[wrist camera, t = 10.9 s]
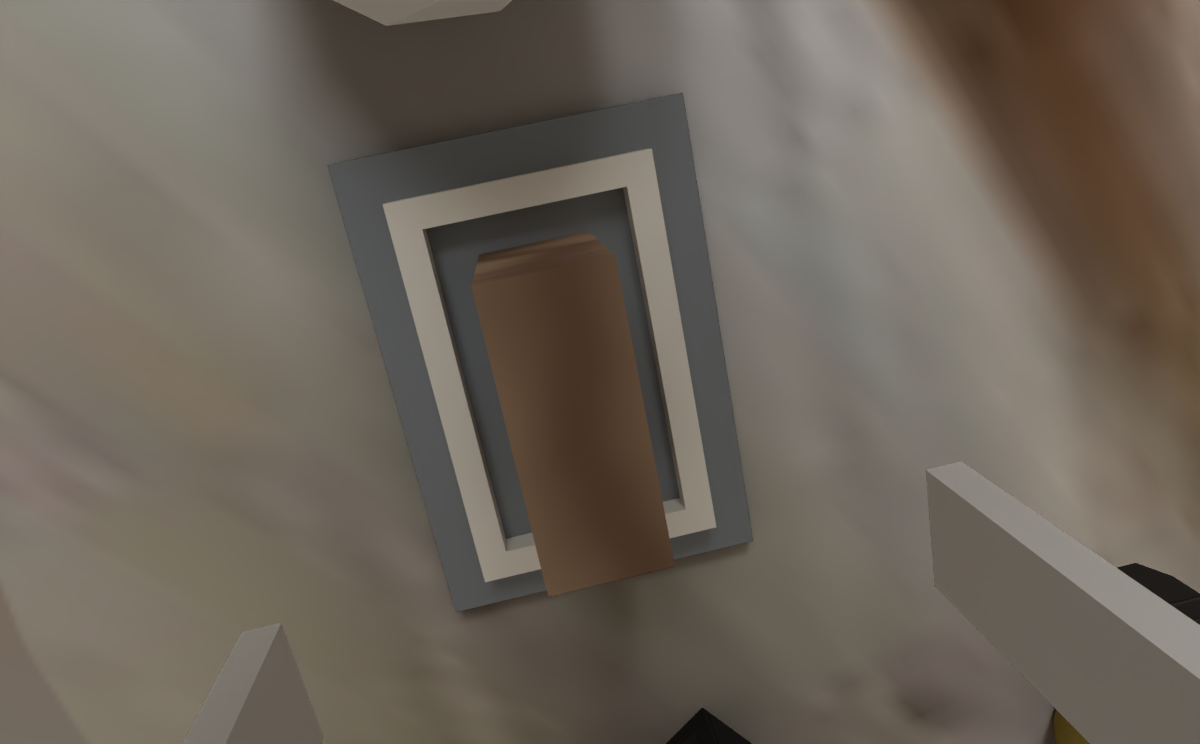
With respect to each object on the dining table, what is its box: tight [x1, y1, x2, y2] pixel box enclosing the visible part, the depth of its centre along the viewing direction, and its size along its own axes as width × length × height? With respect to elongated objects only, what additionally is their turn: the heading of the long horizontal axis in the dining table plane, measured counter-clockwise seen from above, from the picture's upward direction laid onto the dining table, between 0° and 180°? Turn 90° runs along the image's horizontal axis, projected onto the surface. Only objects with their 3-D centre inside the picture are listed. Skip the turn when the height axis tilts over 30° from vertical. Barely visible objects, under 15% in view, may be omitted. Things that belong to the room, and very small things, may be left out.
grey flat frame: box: [328, 93, 753, 612], centre depth 33 cm, size 20×14×2 cm
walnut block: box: [471, 231, 675, 597], centre depth 29 cm, size 4×11×8 cm, turn 11°
